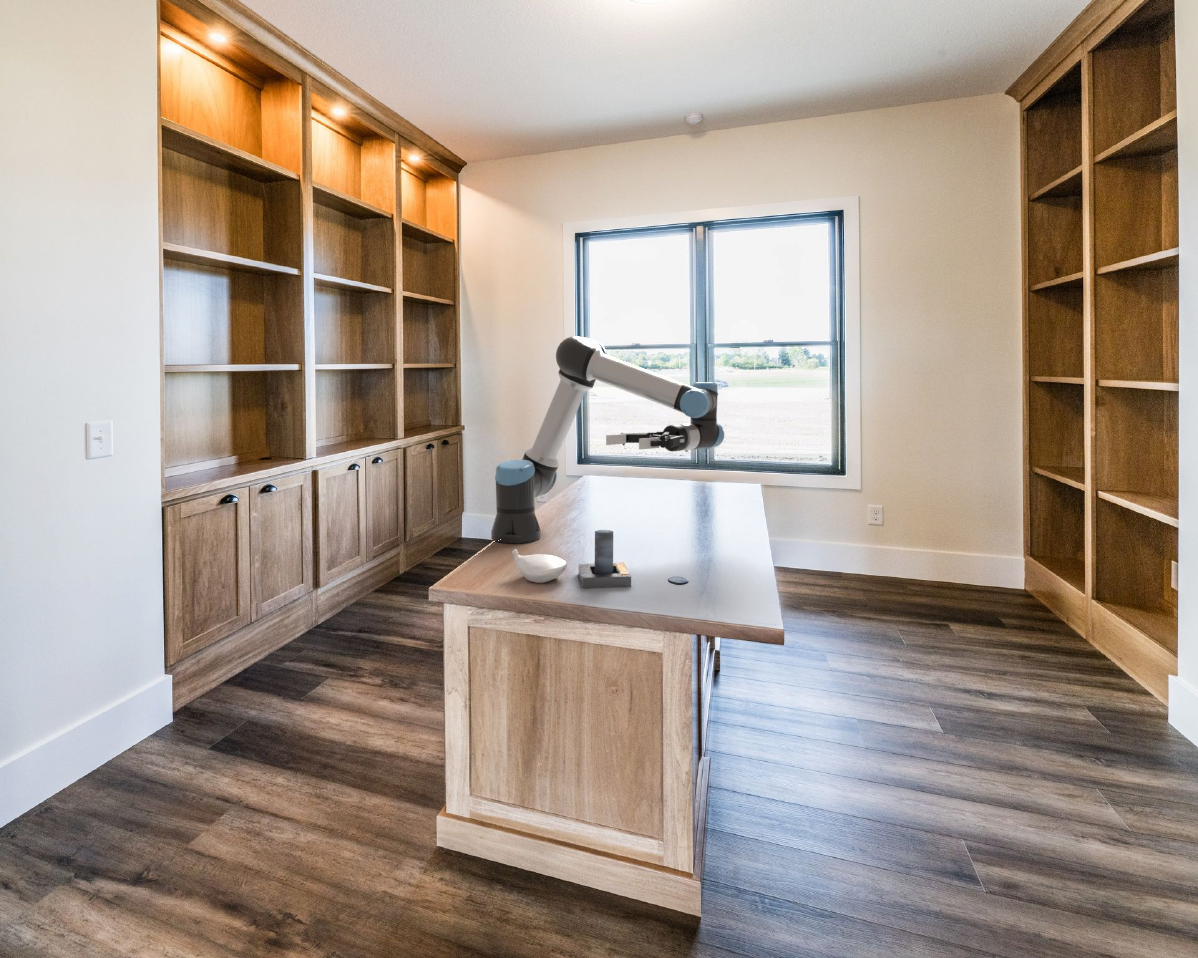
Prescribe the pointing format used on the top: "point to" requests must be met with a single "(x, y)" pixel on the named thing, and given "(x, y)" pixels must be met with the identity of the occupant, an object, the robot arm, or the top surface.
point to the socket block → (604, 576)
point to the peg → (603, 552)
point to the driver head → (539, 566)
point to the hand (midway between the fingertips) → (622, 442)
